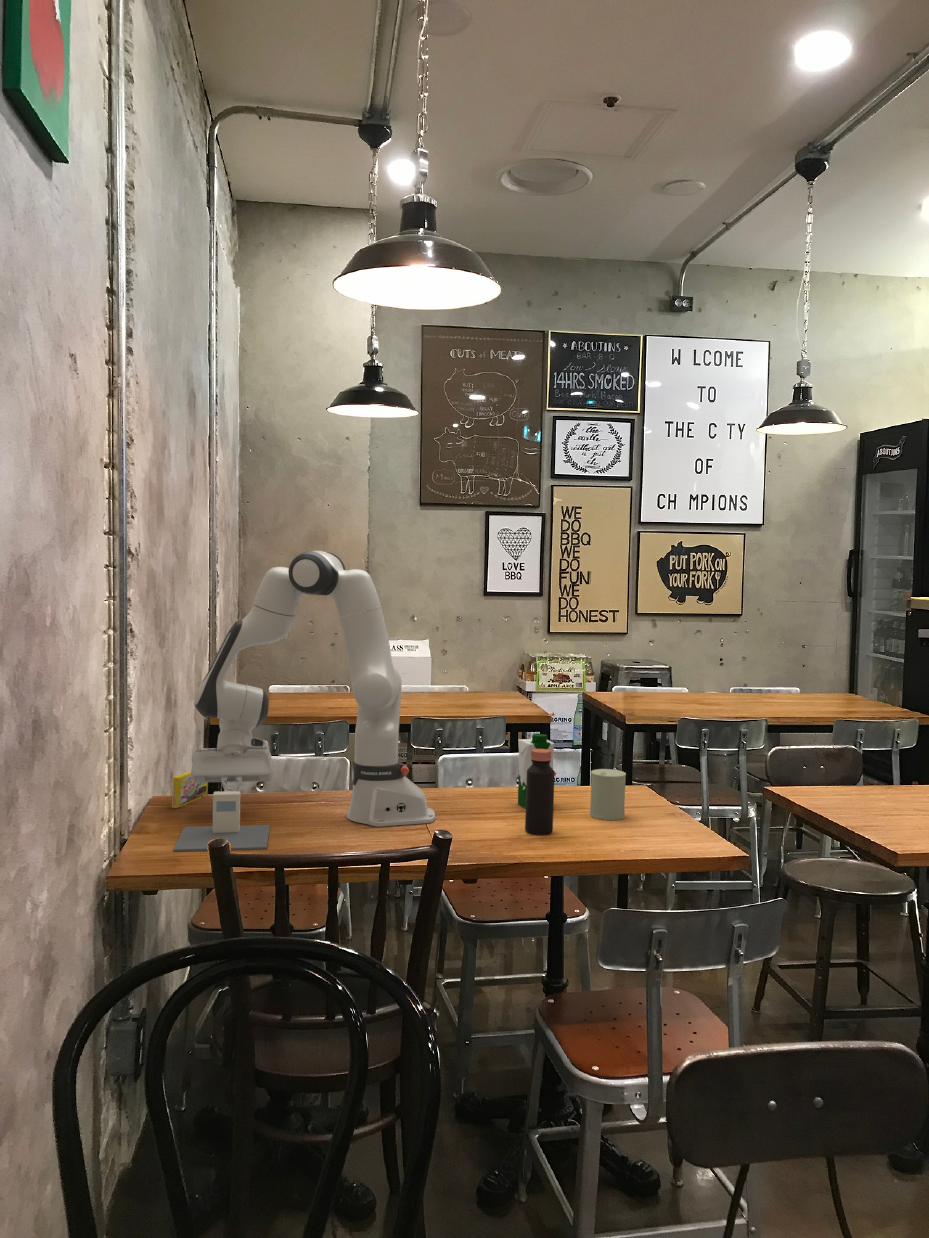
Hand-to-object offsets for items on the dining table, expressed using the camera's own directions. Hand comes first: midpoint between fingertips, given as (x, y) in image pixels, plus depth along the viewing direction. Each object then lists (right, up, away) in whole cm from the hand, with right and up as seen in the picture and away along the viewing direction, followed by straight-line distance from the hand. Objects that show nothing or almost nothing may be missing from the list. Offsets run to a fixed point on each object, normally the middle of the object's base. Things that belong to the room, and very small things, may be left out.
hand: (230, 794), depth 223 cm
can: (+96, -8, +13) cm, 97 cm away
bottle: (+77, -9, -3) cm, 77 cm away
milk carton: (+77, -8, +21) cm, 81 cm away
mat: (+3, -7, -16) cm, 18 cm away
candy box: (-15, -5, +17) cm, 23 cm away
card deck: (+2, -6, -12) cm, 13 cm away
